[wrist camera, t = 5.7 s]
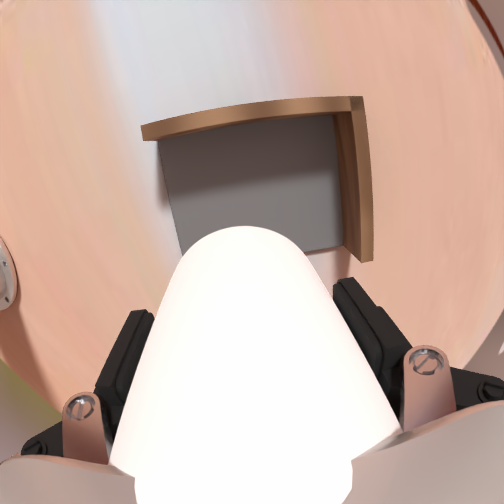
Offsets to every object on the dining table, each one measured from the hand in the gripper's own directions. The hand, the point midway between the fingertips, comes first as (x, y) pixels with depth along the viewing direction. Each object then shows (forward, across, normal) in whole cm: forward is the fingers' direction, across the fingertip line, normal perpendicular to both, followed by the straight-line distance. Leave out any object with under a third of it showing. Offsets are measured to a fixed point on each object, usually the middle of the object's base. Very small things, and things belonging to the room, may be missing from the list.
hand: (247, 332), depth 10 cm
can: (+3, 0, 0) cm, 3 cm away
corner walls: (+18, -2, -2) cm, 18 cm away
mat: (+18, -2, -2) cm, 18 cm away
